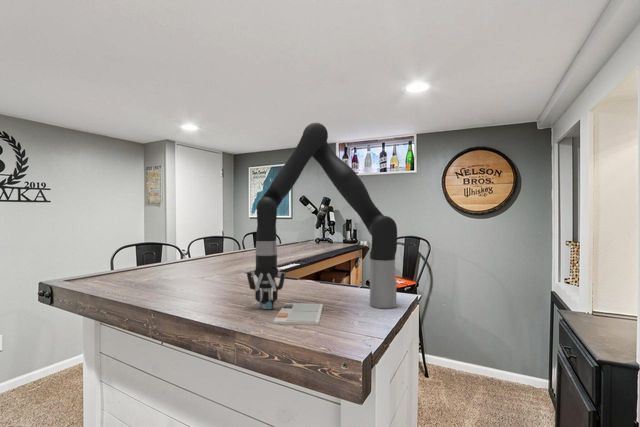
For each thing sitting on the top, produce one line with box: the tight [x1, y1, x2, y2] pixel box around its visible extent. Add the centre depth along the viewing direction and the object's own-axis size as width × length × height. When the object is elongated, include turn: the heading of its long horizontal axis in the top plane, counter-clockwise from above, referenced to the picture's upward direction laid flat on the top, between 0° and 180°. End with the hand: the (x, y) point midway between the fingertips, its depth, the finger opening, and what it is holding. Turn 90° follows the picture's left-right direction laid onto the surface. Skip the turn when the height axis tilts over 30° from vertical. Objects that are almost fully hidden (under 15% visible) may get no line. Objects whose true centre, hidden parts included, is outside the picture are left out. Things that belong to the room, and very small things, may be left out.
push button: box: [259, 281, 278, 310], centre depth 110 cm, size 7×5×10 cm
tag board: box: [272, 302, 324, 326], centre depth 104 cm, size 14×20×1 cm
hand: (266, 300), depth 110 cm, fingers closed on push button, 5 cm apart
